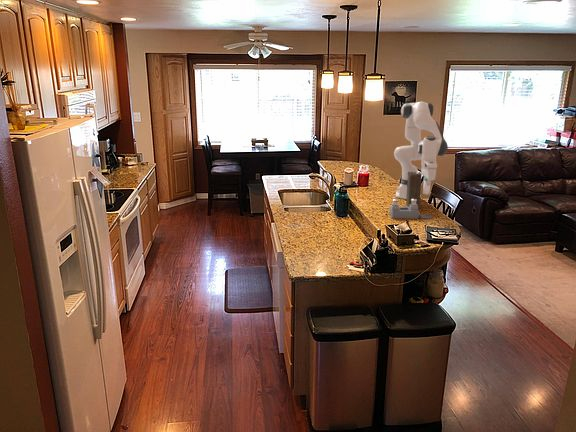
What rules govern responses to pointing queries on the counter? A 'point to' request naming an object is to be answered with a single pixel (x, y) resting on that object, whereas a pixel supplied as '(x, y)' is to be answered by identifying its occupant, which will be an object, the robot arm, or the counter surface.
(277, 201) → the counter surface
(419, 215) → the mat
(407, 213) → the housing
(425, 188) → the cartridge
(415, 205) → the plunger
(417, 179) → the grey upright box
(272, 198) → the counter surface
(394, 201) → the plunger
